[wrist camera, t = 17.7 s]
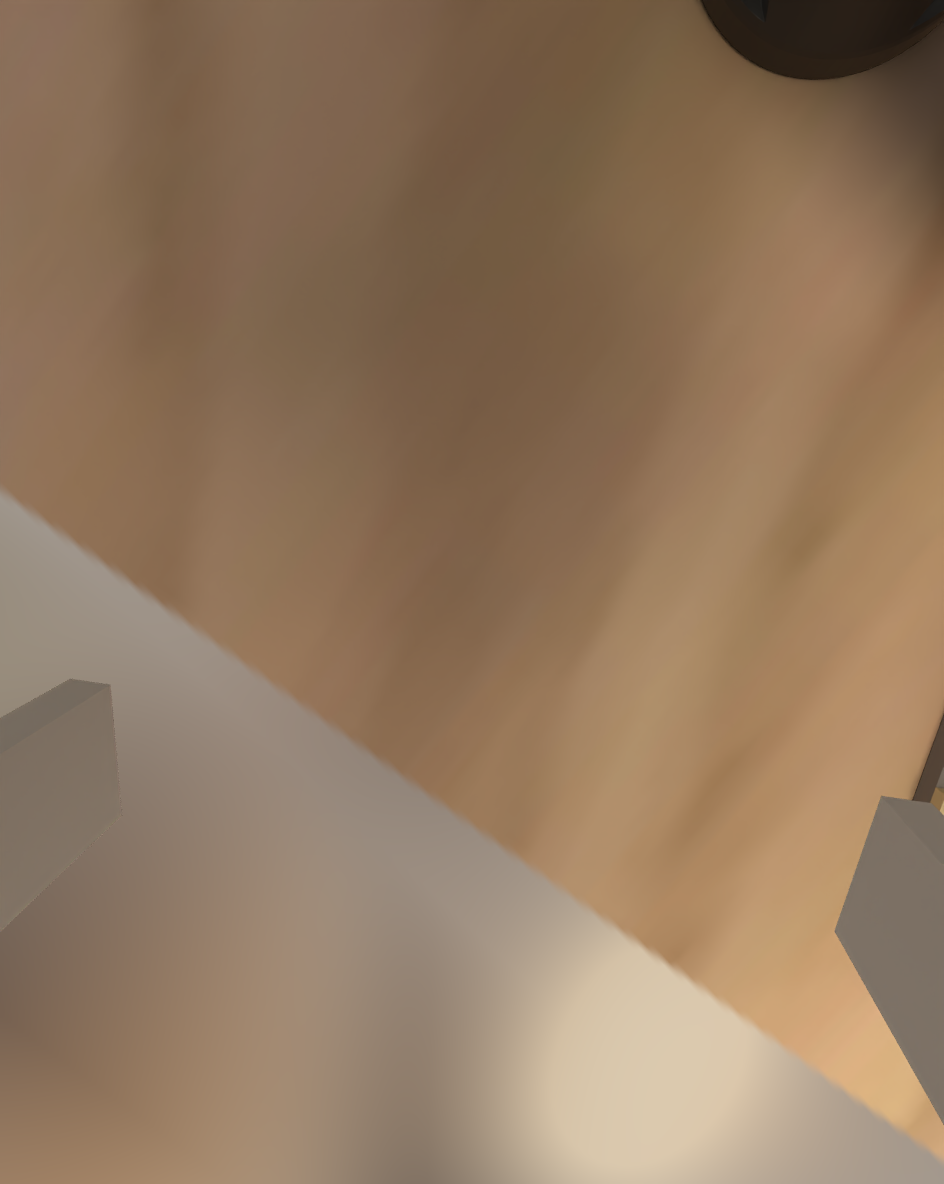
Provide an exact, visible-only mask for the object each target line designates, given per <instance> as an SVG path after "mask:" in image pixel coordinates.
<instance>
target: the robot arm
mask: <svg viewBox="0 0 944 1184" xmlns="http://www.w3.org/2000/svg"><path fill="white" fill-rule="evenodd" d="M702 1H703V3H704V6H705V8H706V10H707V11H708V13H709V15H710V17H711V19H712V20H713V22H714V23H715V25H716V27H717V28H718V29H719V31H720V32H721V33H722V35H723V36H724V37H725V38H726V39H727V40H728V41H729V42H730V44H731V45H732V46H734V47H735V48H736V49H737V50H738V51H739V52H740V53H742V54H743V55H744V56H745V57H747V58H748V59H750V60H751V61H753V62H755V63H756V64H758V65H760V66H762V67H764V68H766V69H768V70H771V71H773V72H776V73H779V74H782V75H786V76H791V77H796V78H804V79H828V78H836V77H843V76H847V75H851V74H855V73H858V72H862V71H865V70H868V69H870V68H873V67H875V66H878V65H880V64H882V63H884V62H886V61H888V60H890V59H892V58H894V57H895V56H897V55H899V54H901V53H902V52H904V51H905V50H907V49H908V48H910V47H911V46H913V45H914V44H916V43H917V42H918V41H919V40H921V39H922V38H923V37H925V36H926V35H927V34H928V33H929V32H931V31H932V30H933V29H934V28H935V27H936V26H937V25H938V24H939V23H940V22H941V21H942V20H944V0H702ZM110 687H111V686H110V685H109V684H102V683H95V682H88V681H81V680H74V679H69V680H67V681H65V682H64V683H62V684H60V685H58V686H56V687H55V688H53V689H51V690H49V691H48V692H46V693H44V694H42V695H41V696H39V697H37V698H35V699H33V700H31V701H30V702H28V703H26V704H25V705H23V706H21V707H19V708H17V709H15V710H14V711H12V712H10V713H9V714H7V715H5V716H3V717H1V718H0V932H1V931H2V930H3V929H4V928H5V927H6V926H7V925H8V924H9V923H10V922H11V921H12V920H13V919H14V918H15V917H16V916H17V915H18V914H19V913H20V912H22V910H24V909H25V907H27V906H28V905H29V904H30V903H31V902H32V901H33V900H34V899H35V898H36V897H37V896H38V895H39V894H40V893H41V892H42V891H44V889H46V888H47V887H48V886H49V885H50V884H51V883H52V882H53V881H54V880H55V879H56V878H57V877H58V876H59V875H60V874H61V873H62V872H63V871H64V870H65V869H67V868H68V867H69V866H70V865H71V864H72V863H73V862H74V861H75V860H76V859H77V858H78V857H79V856H80V855H81V854H82V853H83V852H84V851H85V850H86V849H87V848H88V847H89V846H91V845H92V844H93V843H94V842H95V841H96V840H97V839H98V838H99V837H100V836H101V835H102V834H103V833H104V832H105V831H106V830H107V829H108V828H109V827H110V826H111V825H113V824H114V823H115V822H116V821H117V820H118V819H119V818H120V817H121V816H122V809H121V798H120V786H119V775H118V764H117V753H116V742H115V730H114V719H113V708H112V698H111V688H110ZM835 933H836V935H837V936H838V938H839V940H840V942H841V943H842V945H843V947H844V949H845V951H846V952H847V954H848V956H849V958H850V959H851V961H852V963H853V965H854V967H855V968H856V970H857V972H858V974H859V975H860V977H861V979H862V981H863V982H864V984H865V986H866V988H867V990H868V991H869V993H870V995H871V997H872V998H873V1000H874V1002H875V1004H876V1006H877V1007H878V1009H879V1011H880V1013H881V1014H882V1016H883V1018H884V1020H885V1021H886V1023H887V1025H888V1027H889V1029H890V1030H891V1032H892V1034H893V1036H894V1037H895V1039H896V1041H897V1043H898V1045H899V1046H900V1048H901V1050H902V1052H903V1053H904V1055H905V1057H906V1059H907V1060H908V1062H909V1064H910V1066H911V1068H912V1069H913V1071H914V1073H915V1075H916V1076H917V1078H918V1080H919V1082H920V1084H921V1085H922V1087H923V1089H924V1091H925V1092H926V1094H927V1096H928V1098H929V1100H930V1101H931V1103H932V1105H933V1107H934V1108H935V1110H936V1112H937V1114H938V1115H939V1117H940V1119H941V1121H942V1123H943V1124H944V815H943V814H942V813H941V812H940V811H939V810H938V809H937V808H936V807H935V806H934V805H933V804H932V803H927V802H920V801H913V800H906V799H899V798H892V797H885V796H881V799H880V801H879V804H878V807H877V810H876V813H875V816H874V819H873V822H872V825H871V827H870V830H869V833H868V836H867V839H866V842H865V845H864V848H863V851H862V853H861V856H860V859H859V862H858V865H857V868H856V871H855V874H854V876H853V879H852V882H851V885H850V888H849V891H848V894H847V897H846V900H845V902H844V905H843V908H842V911H841V914H840V917H839V920H838V923H837V926H836V928H835Z"/></svg>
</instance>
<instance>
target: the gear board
mask: <svg viewBox="0 0 944 1184" xmlns="http://www.w3.org/2000/svg"><path fill="white" fill-rule="evenodd" d="M913 801H920V802H927V803H932V804H933V805H934V806H935V807H936V808H937V809H938V810H939V811H940V812H941V813H942V814H943V815H944V716H943V719H942V722H941V725H940V727H939V730H938V733H937V736H936V738H935V741H934V744H933V747H932V749H931V752H930V755H929V757H928V760H927V763H926V766H925V768H924V771H923V774H922V777H921V779H920V782H919V785H918V788H917V790H916V793H915V796H914V799H913Z"/></svg>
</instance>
